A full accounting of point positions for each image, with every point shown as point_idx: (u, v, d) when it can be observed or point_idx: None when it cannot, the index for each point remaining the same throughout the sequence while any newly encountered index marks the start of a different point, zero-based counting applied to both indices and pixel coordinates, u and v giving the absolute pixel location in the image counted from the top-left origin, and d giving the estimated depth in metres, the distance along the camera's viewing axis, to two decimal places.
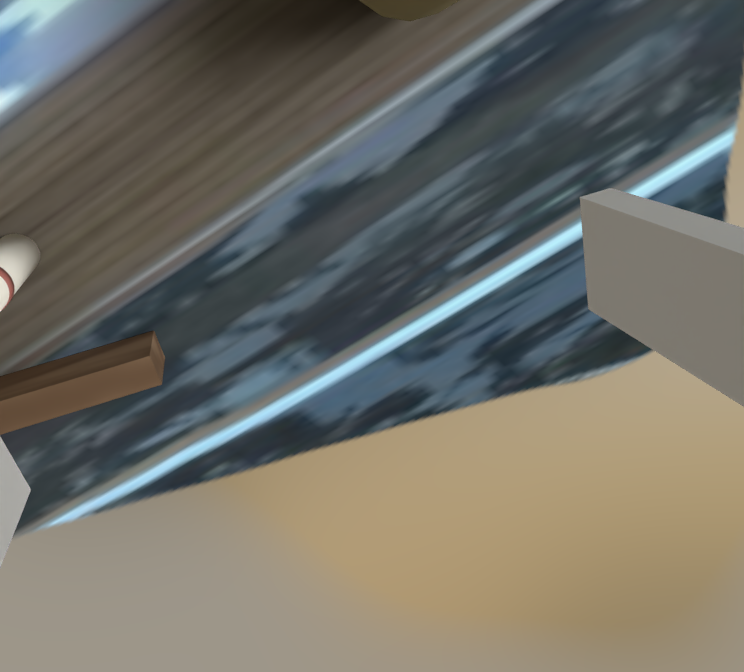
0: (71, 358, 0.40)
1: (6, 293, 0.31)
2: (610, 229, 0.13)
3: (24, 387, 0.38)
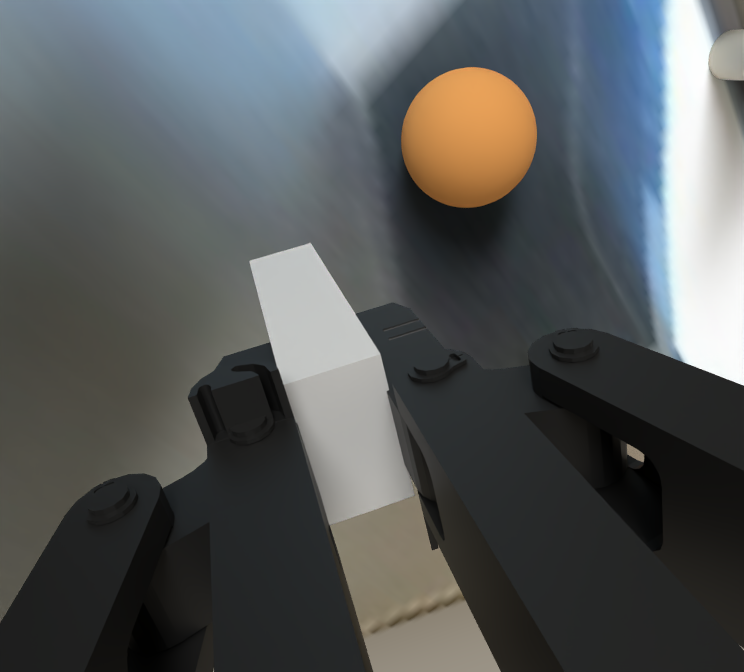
0: None
1: None
2: None
3: None
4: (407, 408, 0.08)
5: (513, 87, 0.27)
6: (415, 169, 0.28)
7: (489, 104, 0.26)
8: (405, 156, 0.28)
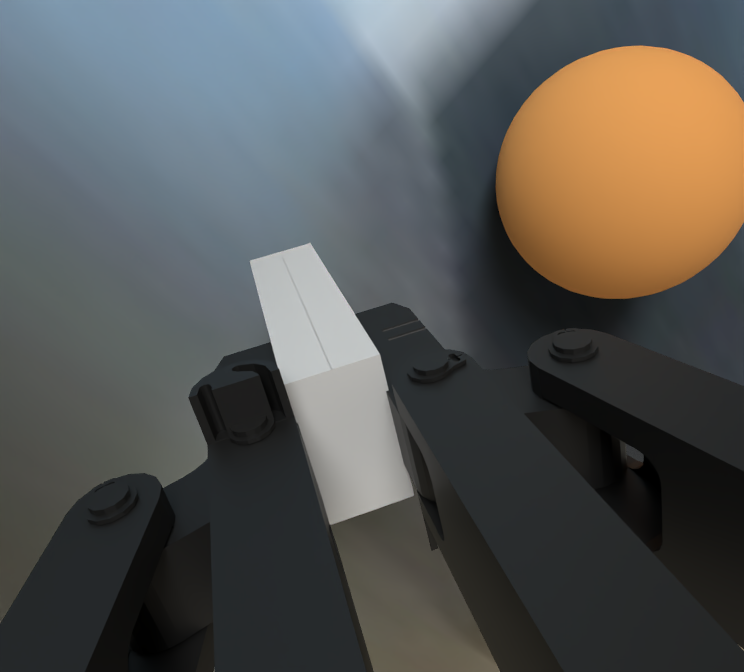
0: None
1: None
2: None
3: None
4: (406, 408, 0.08)
5: (726, 82, 0.14)
6: (530, 239, 0.15)
7: (696, 119, 0.13)
8: (509, 213, 0.15)
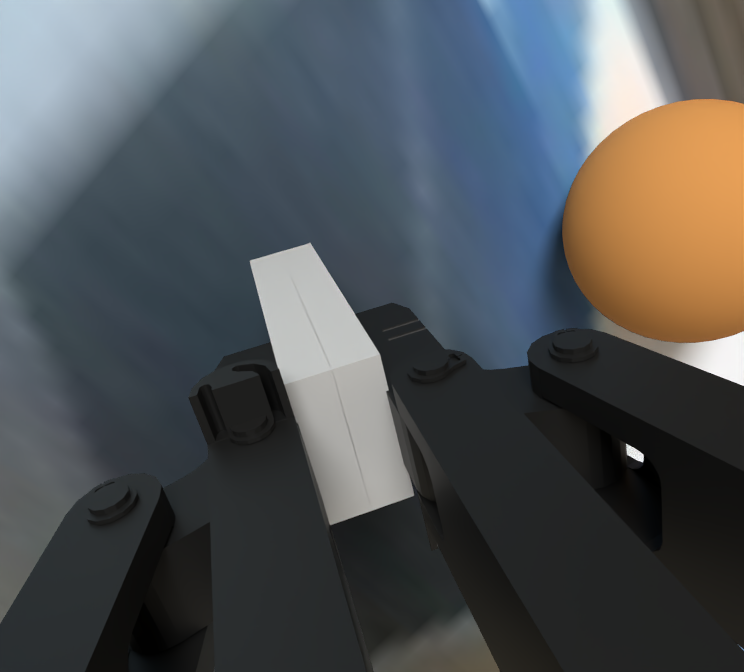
0: None
1: None
2: None
3: None
4: (407, 408, 0.08)
5: (620, 176, 0.15)
6: None
7: (581, 169, 0.16)
8: None
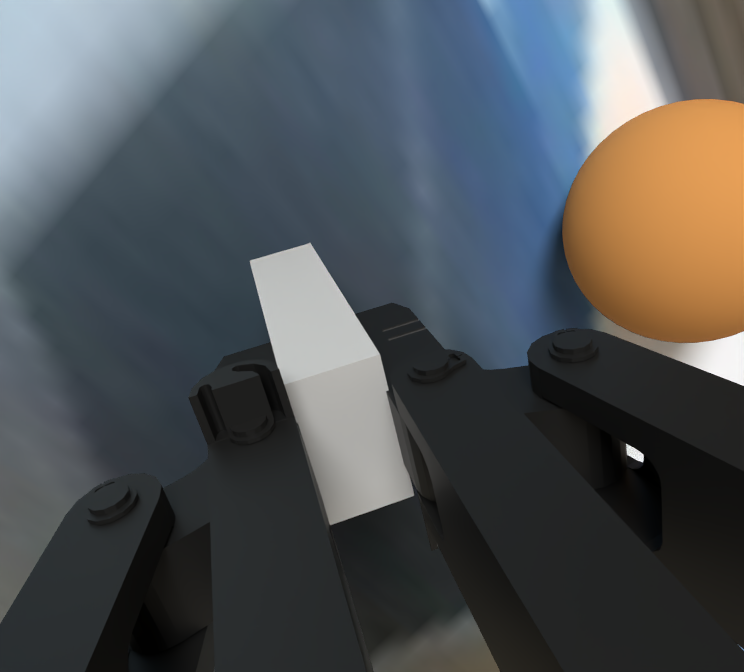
0: None
1: None
2: None
3: None
4: (407, 408, 0.08)
5: (620, 176, 0.15)
6: None
7: (581, 169, 0.16)
8: None
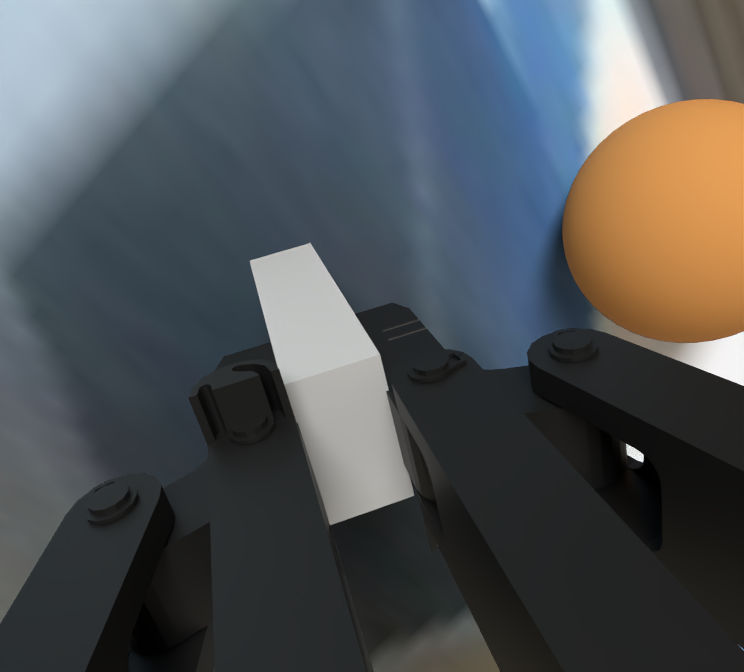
0: None
1: None
2: None
3: None
4: (407, 408, 0.08)
5: (620, 176, 0.15)
6: None
7: (581, 169, 0.16)
8: None
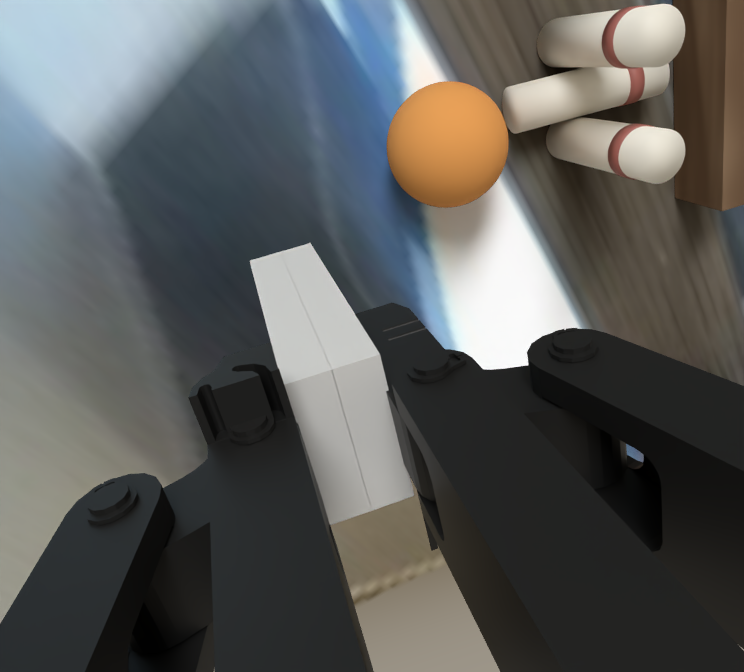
0: (680, 5, 0.34)
1: None
2: None
3: (711, 50, 0.33)
4: (407, 408, 0.08)
5: (401, 118, 0.30)
6: None
7: None
8: None
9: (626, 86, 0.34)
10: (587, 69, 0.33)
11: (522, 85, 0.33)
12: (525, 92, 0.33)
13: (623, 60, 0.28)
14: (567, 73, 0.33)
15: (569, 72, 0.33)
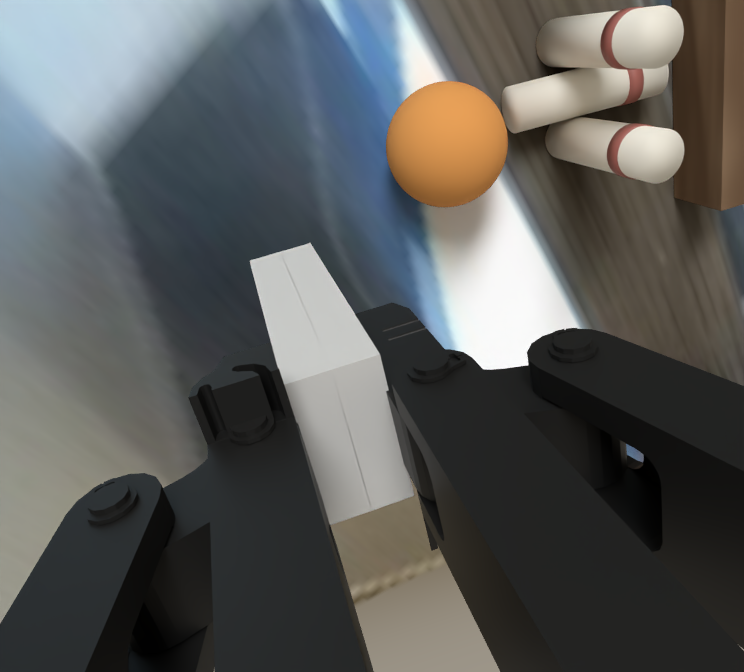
0: (679, 5, 0.34)
1: None
2: None
3: (710, 50, 0.33)
4: (406, 408, 0.08)
5: (401, 118, 0.30)
6: None
7: None
8: None
9: (625, 86, 0.34)
10: (586, 69, 0.33)
11: (521, 85, 0.33)
12: (524, 92, 0.33)
13: (622, 61, 0.28)
14: (566, 73, 0.33)
15: (568, 72, 0.34)
